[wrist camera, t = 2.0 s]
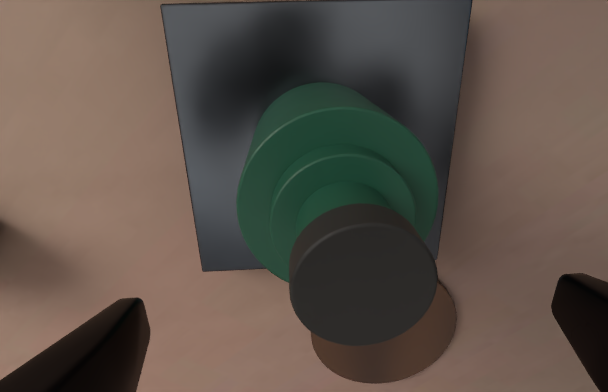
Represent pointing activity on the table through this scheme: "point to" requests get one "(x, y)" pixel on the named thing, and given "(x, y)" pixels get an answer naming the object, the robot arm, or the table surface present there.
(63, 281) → the table surface
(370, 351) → the walnut coaster
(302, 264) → the green bottle
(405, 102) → the black flat square slab
